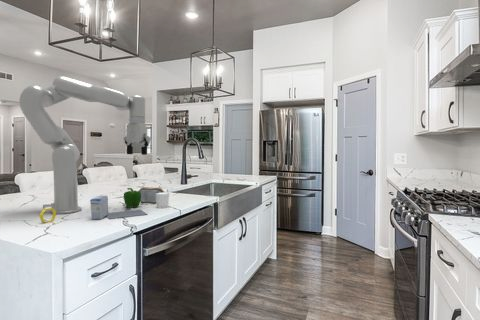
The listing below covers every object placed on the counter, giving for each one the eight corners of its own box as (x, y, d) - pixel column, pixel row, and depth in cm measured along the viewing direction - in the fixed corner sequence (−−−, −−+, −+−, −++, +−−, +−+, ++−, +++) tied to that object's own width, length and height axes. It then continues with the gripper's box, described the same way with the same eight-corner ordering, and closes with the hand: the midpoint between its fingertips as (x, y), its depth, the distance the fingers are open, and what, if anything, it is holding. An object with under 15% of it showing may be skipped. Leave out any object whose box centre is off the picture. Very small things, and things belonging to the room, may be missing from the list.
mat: (108, 219, 122) (108, 218, 122) (104, 213, 133) (104, 213, 133) (147, 214, 131) (147, 214, 131) (140, 209, 141) (140, 209, 141)
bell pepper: (140, 204, 154) (140, 186, 154) (142, 207, 147) (141, 188, 146) (123, 206, 151) (123, 186, 150) (124, 209, 143) (124, 189, 143)
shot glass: (171, 205, 151) (171, 192, 151) (164, 208, 145) (164, 194, 144) (160, 205, 153) (160, 191, 153) (152, 207, 147) (152, 193, 147)
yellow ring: (44, 224, 115) (42, 210, 115) (39, 224, 116) (37, 209, 115) (57, 220, 121) (56, 206, 120) (53, 219, 122) (51, 205, 121)
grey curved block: (165, 202, 161) (165, 187, 160) (163, 203, 157) (162, 188, 157) (139, 202, 162) (138, 187, 162) (136, 203, 159) (136, 187, 159)
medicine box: (98, 214, 130) (97, 195, 129) (109, 214, 130) (107, 195, 130) (91, 219, 122) (89, 199, 121) (102, 219, 122) (100, 198, 122)
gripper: (118, 120, 147) (118, 154, 148) (144, 119, 140) (144, 154, 141) (130, 121, 154) (129, 153, 155) (155, 121, 147) (155, 154, 147)
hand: (136, 154), depth 148 cm, fingers open, 9 cm apart
